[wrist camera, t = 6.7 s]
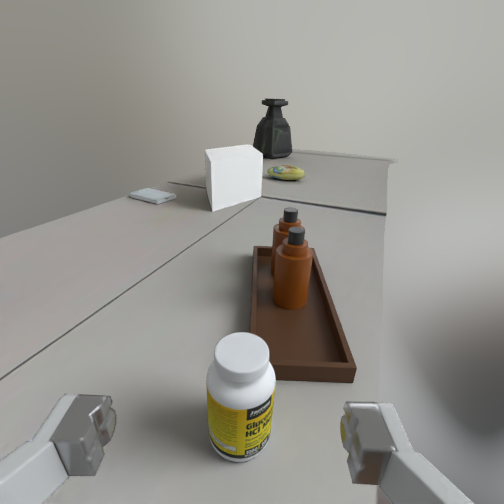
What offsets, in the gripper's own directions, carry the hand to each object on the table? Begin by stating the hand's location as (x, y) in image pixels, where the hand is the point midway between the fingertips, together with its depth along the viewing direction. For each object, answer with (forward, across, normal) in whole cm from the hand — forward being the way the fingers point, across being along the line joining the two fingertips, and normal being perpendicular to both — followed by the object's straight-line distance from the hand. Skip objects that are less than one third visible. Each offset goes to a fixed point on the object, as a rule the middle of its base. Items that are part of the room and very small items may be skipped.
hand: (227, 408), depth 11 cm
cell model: (+121, -13, +20) cm, 123 cm away
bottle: (+177, -10, +20) cm, 178 cm away
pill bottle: (+12, 0, +20) cm, 24 cm away
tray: (+34, -7, +20) cm, 40 cm away
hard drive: (+89, +33, +20) cm, 96 cm away
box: (+97, +7, +20) cm, 99 cm away
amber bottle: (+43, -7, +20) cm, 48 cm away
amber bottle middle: (+34, -7, +20) cm, 40 cm away
